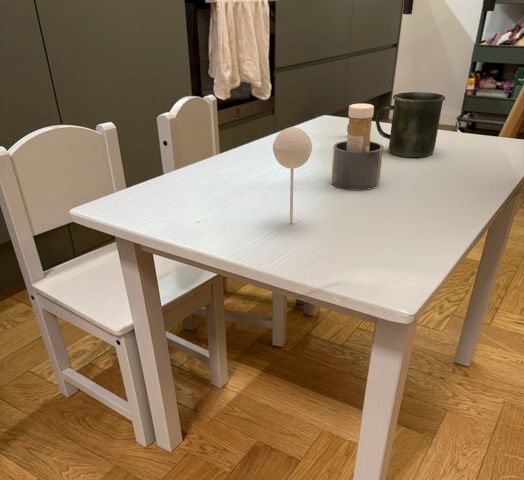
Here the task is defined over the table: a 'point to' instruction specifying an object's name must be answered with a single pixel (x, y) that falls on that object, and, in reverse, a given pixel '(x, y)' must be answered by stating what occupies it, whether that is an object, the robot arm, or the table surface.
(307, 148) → the lollipop
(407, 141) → the mug
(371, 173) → the tin
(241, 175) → the table surface
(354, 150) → the sprinkles bottle
